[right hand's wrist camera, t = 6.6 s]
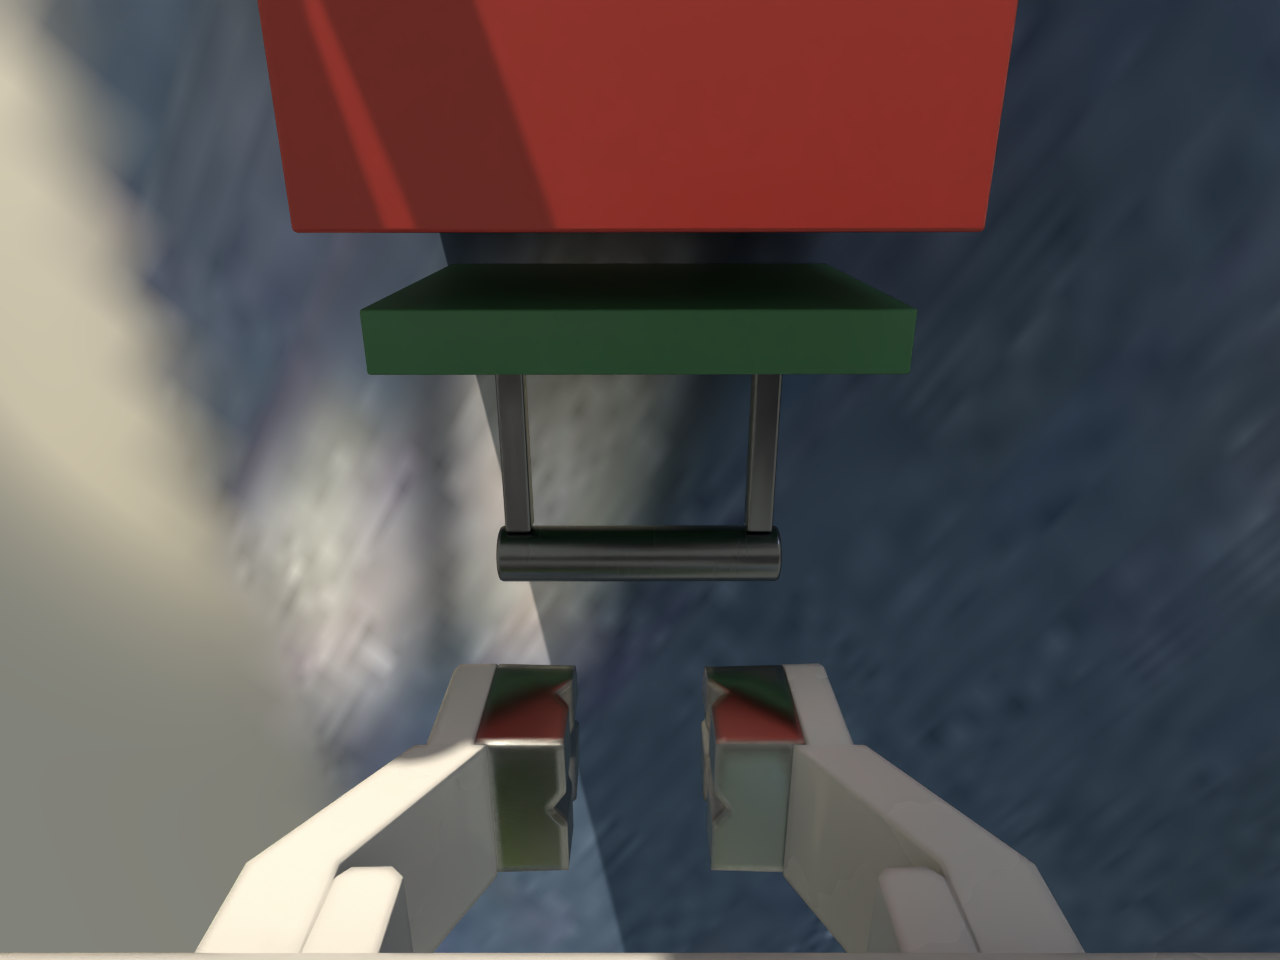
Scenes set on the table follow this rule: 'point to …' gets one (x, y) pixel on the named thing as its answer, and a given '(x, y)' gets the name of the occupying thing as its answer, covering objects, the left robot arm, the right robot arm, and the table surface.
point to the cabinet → (637, 114)
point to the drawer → (638, 344)
